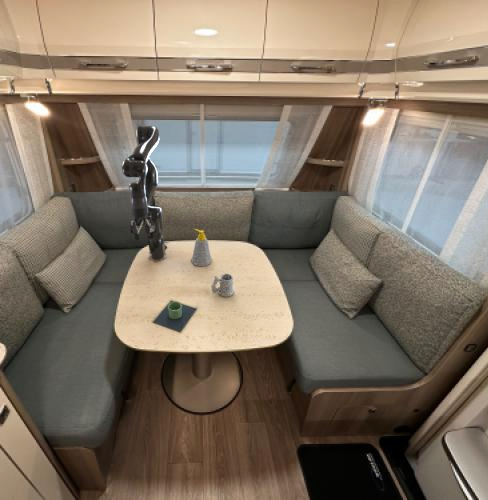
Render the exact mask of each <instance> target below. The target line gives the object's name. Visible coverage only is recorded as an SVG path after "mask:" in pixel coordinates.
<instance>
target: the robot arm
mask: <svg viewBox="0 0 488 500" xmlns="http://www.w3.org/2000/svg"><path fill="white" fill-rule="evenodd" d="M135 131H136V132H135V135H136V143H137V146H136V147H135V148H134V150H133V151H132V154H130V155H129V156H128V157H127V158H126V159H124V160H123V162H122V165H121V172H122V174H123V175H124V176H125V177H126V178H138V180H137V181H132V182H130V183H129V185H128V191H129V196H130V197H129V202H130V210H131V214H132V217H133V220H130V221H129V230H130V231H129V232H130V234H132V235H134V240H135V241H139V242H140V240H141V236H140V230H142V227H144V229H145V233H146V235H147V241H148V242H147V244H148V255H149V259H150V260H151V261H154V262H160V261H162V260H164V259H165V258H166V249H167V248H168V246H167V245H165V242H167V241H171V239H170V238H167V239H164V221H163V210H162V208H161V207H159V206H151V198H152V196H153V194H154V192H155V191H156V189H157V188H158V184H159V177H158V170H157V168H156V166H155V164H154V163H153V161H152V160H151V158H150V156H151V154H152V152H153V151H154V150H155V148H156V147H157V146H158V144H159V142H160V131H159V128H158V126H156V125H138V126H137V127H136V130H135ZM151 224H153V225H151Z"/></svg>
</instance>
